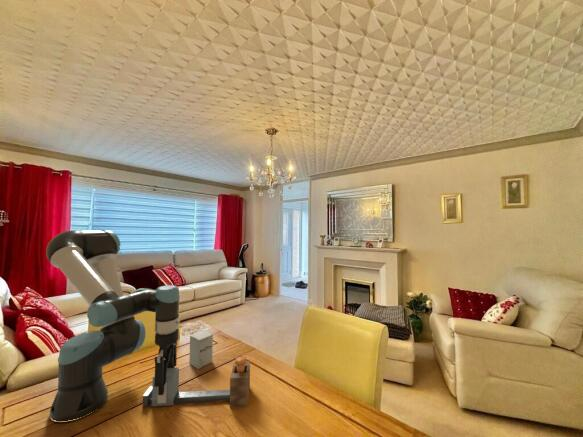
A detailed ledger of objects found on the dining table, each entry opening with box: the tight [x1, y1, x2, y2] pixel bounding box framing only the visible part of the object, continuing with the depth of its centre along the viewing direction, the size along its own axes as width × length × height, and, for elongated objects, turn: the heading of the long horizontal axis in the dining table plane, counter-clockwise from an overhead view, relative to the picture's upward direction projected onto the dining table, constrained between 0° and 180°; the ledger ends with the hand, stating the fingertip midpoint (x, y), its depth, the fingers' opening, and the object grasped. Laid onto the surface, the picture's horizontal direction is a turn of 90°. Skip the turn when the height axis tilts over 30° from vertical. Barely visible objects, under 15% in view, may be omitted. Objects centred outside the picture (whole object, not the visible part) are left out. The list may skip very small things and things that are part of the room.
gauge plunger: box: [234, 356, 247, 373], centre depth 90 cm, size 4×4×6 cm
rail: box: [142, 385, 230, 409], centre depth 88 cm, size 30×5×4 cm, turn 95°
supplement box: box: [189, 330, 214, 370], centre depth 112 cm, size 7×7×13 cm
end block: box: [229, 360, 251, 409], centre depth 89 cm, size 6×10×10 cm, turn 5°
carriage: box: [151, 367, 180, 407], centre depth 87 cm, size 7×5×10 cm
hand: (165, 396), depth 87 cm, fingers closed on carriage, 5 cm apart
